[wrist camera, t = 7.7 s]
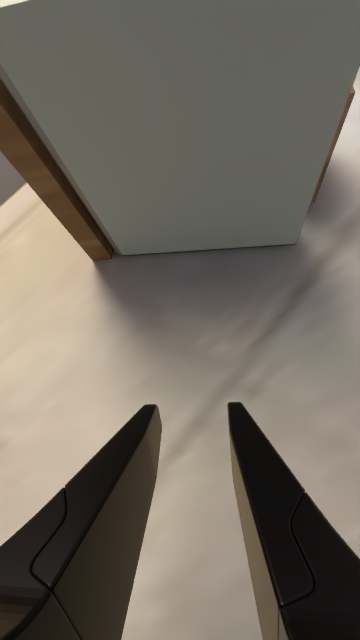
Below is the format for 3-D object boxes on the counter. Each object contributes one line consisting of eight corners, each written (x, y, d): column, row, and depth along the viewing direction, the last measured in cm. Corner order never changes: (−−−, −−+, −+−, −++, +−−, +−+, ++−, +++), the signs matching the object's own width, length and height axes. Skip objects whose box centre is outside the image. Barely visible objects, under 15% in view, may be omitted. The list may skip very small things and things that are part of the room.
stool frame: (322, 237, 19) (488, -104, 7) (92, 260, 21) (-89, 44, 9) (299, 136, 22) (383, -213, 10) (104, 166, 24) (-18, -82, 12)
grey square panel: (295, 243, 18) (417, -95, 6) (113, 255, 21) (-51, 19, 9) (293, 225, 19) (402, -121, 7) (115, 238, 21) (-36, -7, 9)
